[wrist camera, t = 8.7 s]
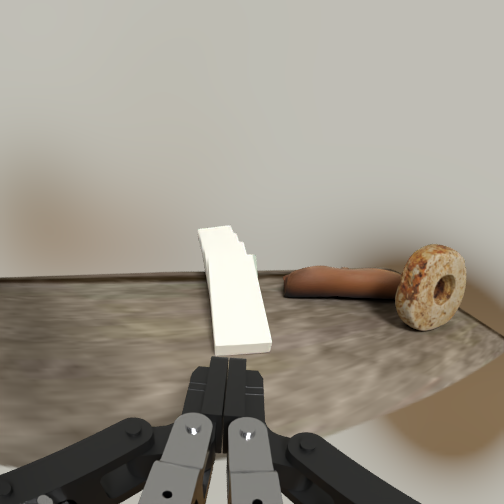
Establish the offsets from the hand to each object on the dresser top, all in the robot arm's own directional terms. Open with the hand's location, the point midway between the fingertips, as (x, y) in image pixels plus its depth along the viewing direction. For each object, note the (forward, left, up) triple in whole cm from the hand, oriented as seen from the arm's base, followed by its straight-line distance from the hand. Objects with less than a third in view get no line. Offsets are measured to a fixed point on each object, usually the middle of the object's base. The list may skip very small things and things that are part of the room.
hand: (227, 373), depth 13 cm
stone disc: (+22, +19, -8) cm, 31 cm away
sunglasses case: (+15, +30, -9) cm, 34 cm away
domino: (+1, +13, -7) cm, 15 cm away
